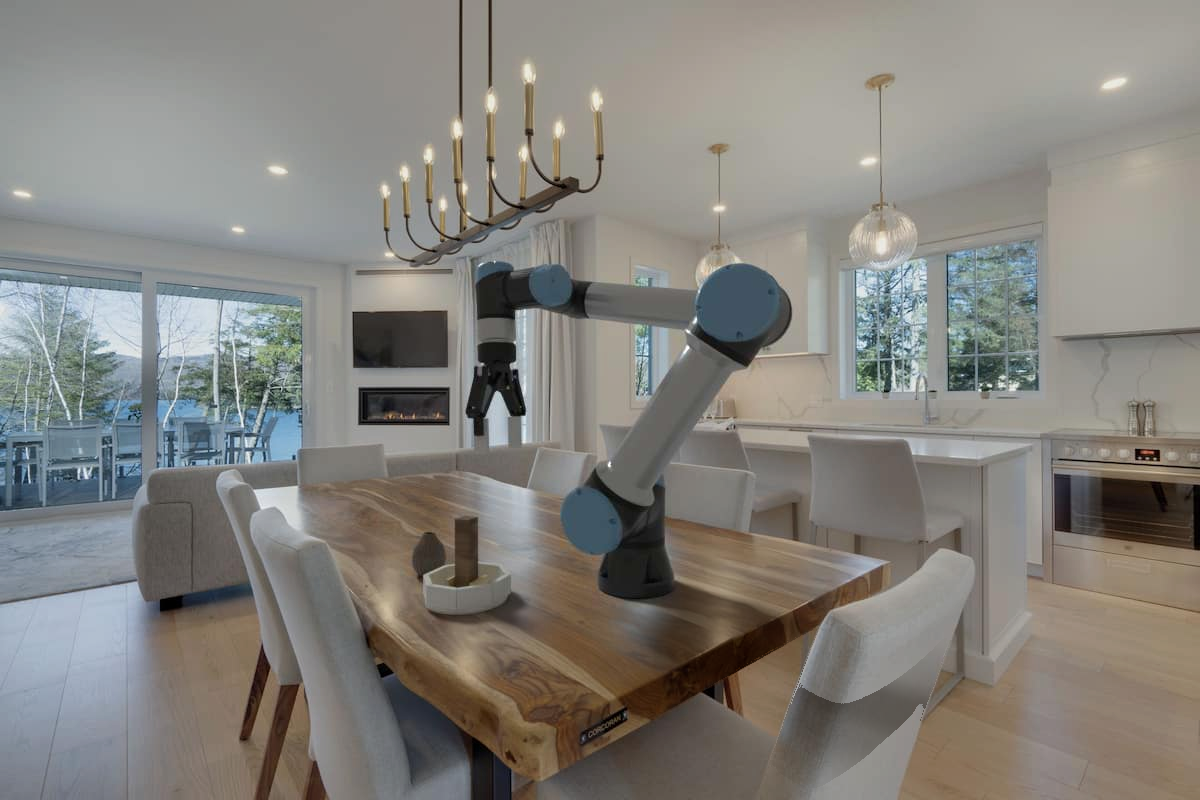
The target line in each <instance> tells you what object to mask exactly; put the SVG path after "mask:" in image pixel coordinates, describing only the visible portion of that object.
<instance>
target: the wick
mask: <svg viewBox="0 0 1200 800" xmlns="http://www.w3.org/2000/svg"><path fill="white" fill-rule="evenodd" d="M478 562H479V517H478V516H471V515H462V516H460V517H456V518H454V564H455V587H456V588H460V587H467V586H470V582H472V581H474V580H476V579H478Z"/></svg>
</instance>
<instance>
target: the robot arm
mask: <svg viewBox="0 0 1200 800" xmlns="http://www.w3.org/2000/svg"><path fill="white" fill-rule="evenodd" d="M475 273H476V274H475V299H476V322H477V323H476V326H477V327H476V332H477V336H476V337H477V340H478V342H479V343H478V345H477V347H476V349H477V362H478V363H480V365H479V364H478V365H477V364H476V365H474V366H473V378H472V382H471V387H470V390H469V394H468V398H467V399H468V400H467V403H466V407H465V414H466V417H467V418H468V419H473V421H472V423H473V424H472V425H473V452H474V453H473V454H474V455H489V454H490V434H489V432H490V429H489V425H490V424H489V423H490V422H489V421H490V420H489V418H487V414H488V411H489V409H490V406H491V405H492V404H491V403H492V402H493V399H494V396H495V393H497V392H498V393H500V395H501V397H502V399H503V402H504V404H505V406H506V407H505V408H506V409H507V411H508V414H509V416H507V444H508V449H521V448H523V445H522V444H523V443H522V440H523V439H522V417H525V416H526V415H527V414H526V413H527V408H526V403H525V400H524V399H525V398H524V394H523V390H522V386H521V382H520V376H519V369H518V368H511V364H513V363H515V362H517V345H516V344H515V343H514V342H515V341H516V340H517V322H516V315H517V314H516V311H522V310H531V309H538V310H539V309H540V310H543V311H547V312H552V313H555V314H560V315H564V316H567V317H569V318H572V319H578V320H585V319H588V320H590V319H591V320H598V321H607V322H615V323H616V322H617V323H623V324H632V325H639V326H649V327H656V328H664V329H670V330H671V329H672V330H673V329H674V330H681V331H684V334H685V340H686V341H685V342H686V343H685V345H684V347H683V348H682V349H681V351H680V353H679V354H678V355H677V357H676V359H675V360H674V361H673V363H672V365H671V366H670V367H669V370H668V371H667V372H666V374H665V376H664V377H663V378H662V379H661V381H660V383H659V385H658V386H657V388H656V389H655V391H654V393H653V394H652V396H651V397H650V398H649V400H648V401H647V403H646V405H645V406H644V408H643V409H642V411H641V413H640V414H639V416H638V417H637V418H636V420H635V422H634V423H633V424H632V426H631V428H629V431H628V432H627V434H626V436H625V437H624V438H623V440H622V441H621V443H620V445H619V446H618V447H617V449H616V451H615V452H614V454H613V455H612V457H611V459H608V460H607V459H606V460H602V461H601V460H600V461H599V462H598V463H597V464H596V465H595V467H594V468H593V470H592V471H591V473H590V474H589V476H588V478H587V479H586V481H585V482H584V483H583V485H581V486H578V487H575V488H573V490H571V491H570V492H569V493H567V494H566V496H565V497H564V499H563V500H562V503H561V505H560V511H559V513H560V514H559V519H560V522H561V525H562V527H561V528H562V532H563V534H564V535H565V537H566V539H567V540H568V542H569V543H570V544H571V545H572V546H573V547H574V548H576V549H577V550H578V551H580V552H582V553H584V554H586V555H589V556H600V555H603V556H602V559H601V561H600V565H599V569H598V572H597V587H598V588H599V589H600V590H601V591H603V592H604V593H605V594H608V595H611V596H615V597H618V598H619V597H621V598H627V599H650V598H655V597H661V596H664V595H666V594H669V593H670V592H672V591H673V590H674V588H675V575H674V571H673V568H672V564H671V561H670V558H669V555H668V552H667V548H666V490H667V489H666V484H665V476H664V472H665V470H666V469H667V468H668V466H669V464H670V463H671V462H672V460H673V459H674V457H675V456H676V455H677V453H679V452H678V451H679V450H680V449H681V447H682V446H683V445H684V443H685V441H686V440H687V439H688V438H689V436H690V434H691V433H692V431H693V430H694V428H695V427H696V426H697V424H698V423H699V422H700V420H701V419H702V417H703V416H704V414H705V412H706V411H707V410H708V408H709V407H710V405H711V404H712V403H713V401H714V400H715V398H716V396H717V395H718V394H719V393H720V391H721V389H722V388H723V386H724V385H725V384H726V382H727V381H728V379H729V378H730V376H731V374H733V373H735V372H738V371H742V370H747V369H748V368H749V366H750V365H751V363H752V362H753V360H754V359H755V358H756V356H757V355H758V353H759V352H760V351H761V349H764V348H767V347H769V346H771V345H773V344H776V343H777V342H778V341H780V340H781V339H782V338H783V336H784V335H785V334H786V333H787V331H788V329H789V328H790V325H791V323H792V321H793V319H792V318H793V305H792V301H791V299H790V297H789V295H788V293H787V291H785V290H784V288H783V287H781V285H779V283H778V281H777V280H776V279H775V278H774V276H773V275H771V274H770V273H768V271H767V270H764V269H762V268H760V267H758V266H755V265H754V264H750V263H744V262H737V263H736V262H735V263H730V264H726V265H723V266H721V267H719V268H718V269H716V270H714V271H712V272H711V273H710V274H709V275H708V276H706V278H705V279H704V280H703V281H702V283H701V285H700V286H699V288H698V290H697V289H696V290H695V289H682V288H672V287H660V286H659V287H658V286H646V285H636V284H624V283H613V282H612V283H610V282H601V281H600V282H598V281H588V280H577V279H574V278H571V276H570V273H569V272H568V271H567V270H566V268H565V266H563V265H561V264H559V263H558V264H557V263H555V264H554V263H553V264H546V263H545V264H541V265H537V266H533V267H528V268H522V269H516V270H515V267H514V265H513V264H511V263H509V262H506V261H503V260H502V261H501V260H500V261H499V260H495V261H489V260H488V261H484V262H482V263H480V264H479V265H477V267H476V272H475Z"/></svg>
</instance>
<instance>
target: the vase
mask: <svg viewBox="0 0 1200 800" xmlns="http://www.w3.org/2000/svg"><path fill="white" fill-rule="evenodd" d="M446 560H447V551H446V547H445V546H444V544H443V542H442V541H441V539H439V537H438V536H437V535H436V532H434V531H426V532H423V533H422V535H421V537H420V539H419V540H418V542H417V543H416V544H415V546H414V548H413V551H412V555H411V566H412V569H413V571H414V572H415V573H416V574H417V575H418V576H419V577H421V578H423V575H424V574H426V573H429V572H431V571H433V570H435V569H437V568H440V567H442V566H444V565H446V562H447V561H446Z"/></svg>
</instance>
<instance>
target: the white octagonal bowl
mask: <svg viewBox="0 0 1200 800" xmlns="http://www.w3.org/2000/svg"><path fill="white" fill-rule="evenodd" d="M422 584H423V586H422V588H423V589H422V590H423V591H422V595H423V598H424V606H425V608H426V609H427V610H428V611H431V612H432V613H436V614H441V615H449V616H465V615H472V614H480V613H483V612H487V611H490V610H493V609H495V608H498V607H500V606H502V605H503V604H504V603H506V602H507V600H508V598H509V595H510V594H512V574H511V572H510V570H508V568H507V567H506V566H505V565H504V564H501V563H500V564H499V563H494V562H485V561H478V579H476V580H474V581H472V582H470V586H467V587H460V588H456V587H455V563H452V564H445V565H444V566H442V567H440V568H437V569H435V570H433V571H431V572H429V573H426V574H424V575H423V577H422Z"/></svg>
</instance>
